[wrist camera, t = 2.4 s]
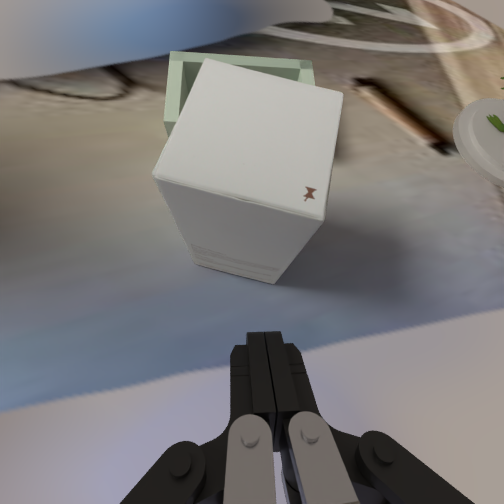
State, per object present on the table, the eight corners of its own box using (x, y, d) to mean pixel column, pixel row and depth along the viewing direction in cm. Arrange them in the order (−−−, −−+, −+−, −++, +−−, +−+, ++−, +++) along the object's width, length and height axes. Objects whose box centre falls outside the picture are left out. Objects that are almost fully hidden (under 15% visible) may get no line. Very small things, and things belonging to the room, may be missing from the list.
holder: (307, 158, 27) (321, 128, 23) (173, 153, 25) (163, 121, 22) (300, 96, 29) (311, 60, 25) (178, 90, 28) (170, 51, 24)
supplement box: (291, 211, 25) (351, 90, 13) (274, 287, 22) (328, 225, 10) (215, 191, 25) (204, 50, 13) (190, 264, 22) (146, 175, 10)
